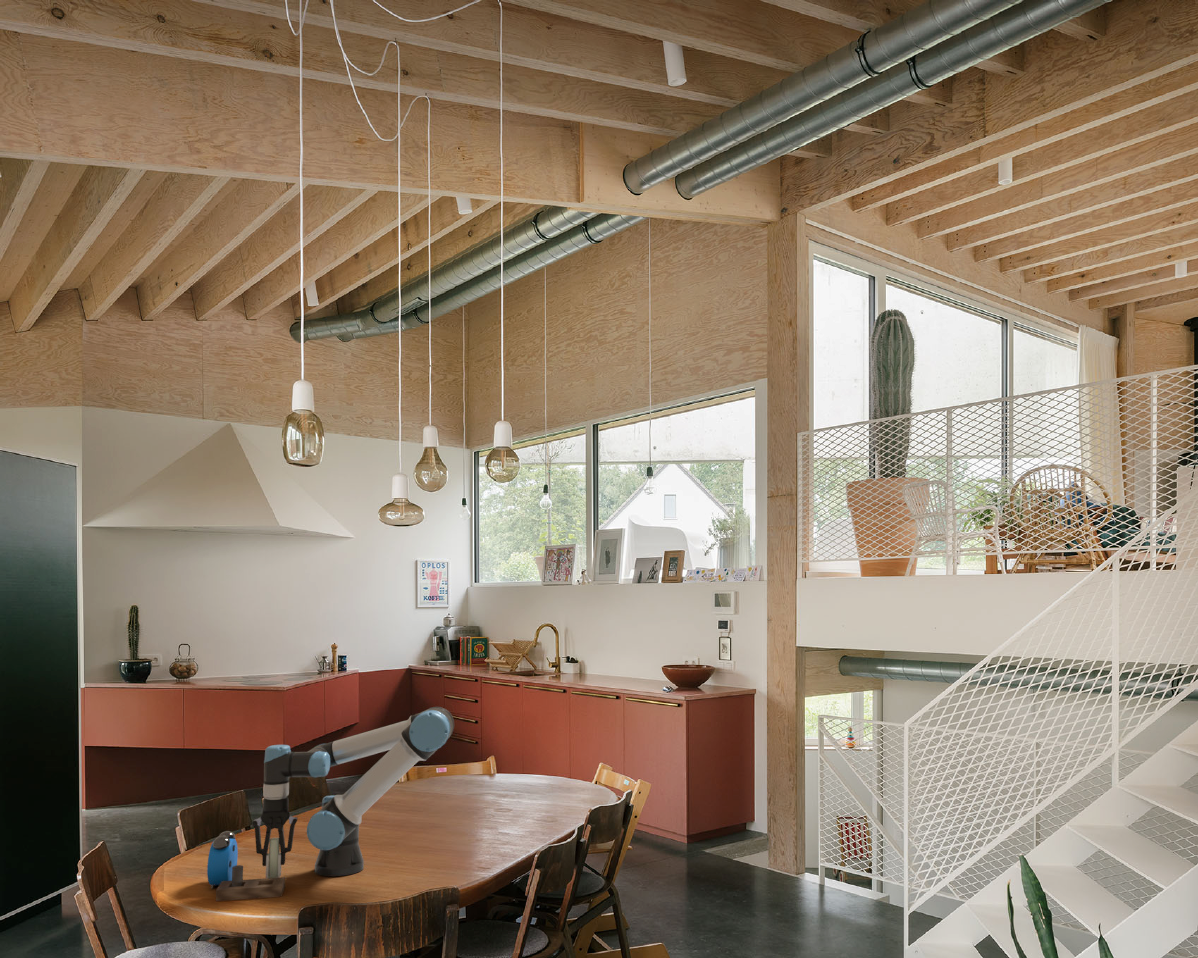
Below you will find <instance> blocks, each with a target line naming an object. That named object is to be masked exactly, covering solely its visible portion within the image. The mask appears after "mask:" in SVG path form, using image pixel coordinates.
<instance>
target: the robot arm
mask: <svg viewBox="0 0 1198 958" xmlns="http://www.w3.org/2000/svg"><path fill="white" fill-rule="evenodd" d="M454 729H455V720H454V718H453V715H452V713H451V712H450V711H449V710H447V709H446V708H443V707H441V706H433V707H429V708H427V709H426V710H425V709H424V711H421V712H419V713H415V714H412V715H410V716H409V718H408V719H407V720H403V721H399V722H396V723H393V724H389V725H386V726H381V727H379V728H375V729H372V730H369V731H365V732H362V733H358V734H354V735H351V736H348V737H345V738H341V739H337V740H334V741H331V742H328V743H320V744H317V745H316V746H314V747H313V748H311V749H309V750H308V751H292V750H291V746H290V745H288V744H274V745H269V746H267V747H266V748H265V750H264V751H265V752H264V760H263V764H264V765H263V793H262V794H263V795H262V796H263V799H262V814H261V815H260V817H259V818H255V819H253V821H252V823H251V824H252V826H253V829H254V836H255V851H256V854H258V855H261V857H262V858H261V859H262V867H265V878H268V876H269V844H270V839H271V835H272V830H273V829H277V832H278V838H279V841H280V852H279V855H278V877H281V876H282V866H284V865H285V863H286V854H287V853H289V852H291V851H292V849H293V843H294V842H293V841H294V834H295V827H296V825H297V822H298V820H299V819H298V816H292V815H291V814H290V812H289V797H288V796H289V794H290V778H316V779H317V778H320V777H323V778H324V777H326V776H328V774H329V772H330V768H332V767H335V766H338V765H341V764H344V763H348V762H353V761H356V760H358V759H362V758H366V757H370V756H373V755H376V754H379V753H384V752H386V751H387V753H385V754H384V755H383V756H382V757H381V758H380V759H379V760H378V761H377V762H375V764H374V765H372V767H370V769H369V770H367V771H366V772H365V773H364V774H363V775H362V776H361V777H360V778H359V779H358V780H357V781H356V782H355V783H354V784H353V785H351V787H350V788H349V789H347V791H345V792H344V794H336V795H326V796H324V797H323V798H322V802H321V808H320V809H319V810H318V811H317V812H316V813H314V814H313V815H312V816H311V817H310V818H309V821H308V823H307V826H306V836H307V839H308V841H309V843H310V844H311V845H312V846H313V847H315V848H316V849H317V850H319V852H318V854H317V856H316V860H315V864H314V873H315V874H316V875H319V876H322V877H323V876H324V877H340V876H341V877H343V876H348V875H353V874H356V873H359V872H361V871H363V870H364V865H365V864H364V863H365V862H364V857H363V854H362V851H361V847H360V844H359V841H360V839H359V838H360V837H359V836H360V825H361V824H362V816H363V815H364V814H366V812H367V811H368V810H369V809H370V808H371V807H372V806H373V805H375V804H376V802H377V801H379V799H381V798H382V797H383V796H384V795H385V794H386V793H387V792H388V791H389V790H390V789H391V788H392V787H393V786H395V784H396V783H397V782H398V781H399V780H400V779H402V777H404V775H406V774H407V773H408V772H409V771H410V770H411V769H412V768H413V767H414V765H416V764H417V763H418V762H420V761H423V762H425V761H427V760H428V759H429V758H430V757H431V756H432V755H434V754H435V753H436V751H438V750H439V749H441V748H442V747H443V746H444V745H445V744H446V743H447V741H448V739H450V737H451V736H452V734H453V732H454ZM287 821H288V824H289V831H288V839H287V847H286V841H285V839H286V838H285V831H284V830H285V829H284V826H285V824H286V823H287ZM262 823H263V825H265V827H266V831H265V838H264V843H263V848H262V837H261V836H262V834H261V825H262Z"/></svg>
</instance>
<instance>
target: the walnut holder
mask: <svg viewBox="0 0 1198 958" xmlns="http://www.w3.org/2000/svg"><path fill="white" fill-rule="evenodd" d="M285 889H286V877H285V876H284V877H281V876H280V877H279V878H266V877H265V878H250V879H244V865H241V864H240V865H238V864H237V866H233V867H232V881H222V882H221V883H220V885H218V887H217V888H216V890H215V901H216V902H222V901H235V900H236V901H237V900H252V899H253V900H254V899H264V898H265V899H268V898H280V897H282V896H283V894H284V891H285Z"/></svg>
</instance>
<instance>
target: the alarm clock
mask: <svg viewBox="0 0 1198 958" xmlns="http://www.w3.org/2000/svg"><path fill="white" fill-rule="evenodd" d="M238 852H239V851H238V842H237V840H236V835H235V833H234V832H232V831H229V830H226V831H223V832H221V833H219V835H218V836H217V837H215V839H213V841H212V842H211V845H210V849H209V852H208V856H207V857H208V858H207V865H206V866H207V871H206V875H207V881H208V884H209V885H210V886H211V889H213V888H214V886H219V885H220V883H221V882H222V881H232V867H233V866H237V865H238V854H239V853H238Z"/></svg>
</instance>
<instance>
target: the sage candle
mask: <svg viewBox="0 0 1198 958" xmlns="http://www.w3.org/2000/svg"><path fill="white" fill-rule="evenodd" d="M280 852H281V850H280V841H279V837H270V841H269V847H268V853H269V876H268V878H279V877H278V855H279V853H280Z"/></svg>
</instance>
